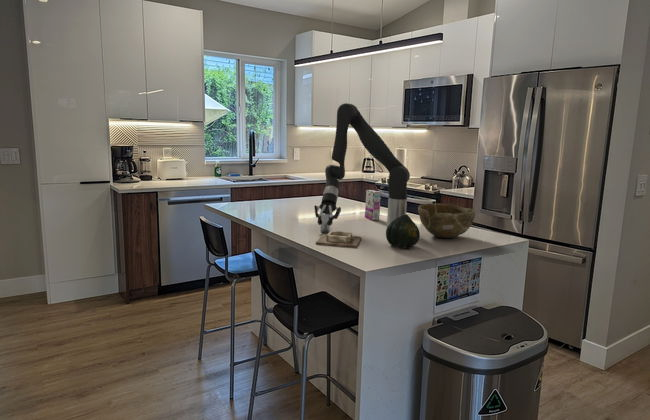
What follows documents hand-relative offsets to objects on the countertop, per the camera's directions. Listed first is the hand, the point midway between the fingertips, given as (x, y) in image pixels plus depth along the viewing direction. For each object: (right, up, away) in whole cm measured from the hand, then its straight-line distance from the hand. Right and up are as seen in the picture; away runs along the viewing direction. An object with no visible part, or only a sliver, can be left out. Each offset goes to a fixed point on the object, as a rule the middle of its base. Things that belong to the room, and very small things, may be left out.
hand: (324, 224), depth 219 cm
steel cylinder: (0, -4, +3) cm, 5 cm away
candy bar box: (+28, +2, +43) cm, 51 cm away
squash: (+34, -10, -19) cm, 40 cm away
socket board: (+7, -7, -15) cm, 18 cm away
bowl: (+59, -7, +2) cm, 60 cm away
